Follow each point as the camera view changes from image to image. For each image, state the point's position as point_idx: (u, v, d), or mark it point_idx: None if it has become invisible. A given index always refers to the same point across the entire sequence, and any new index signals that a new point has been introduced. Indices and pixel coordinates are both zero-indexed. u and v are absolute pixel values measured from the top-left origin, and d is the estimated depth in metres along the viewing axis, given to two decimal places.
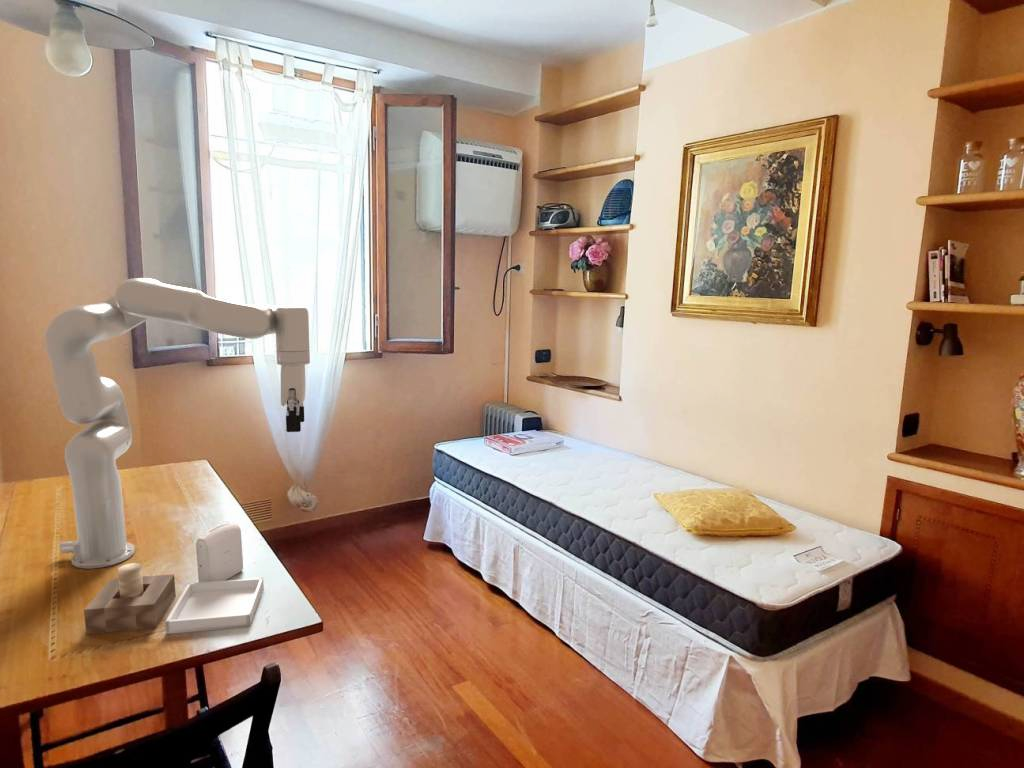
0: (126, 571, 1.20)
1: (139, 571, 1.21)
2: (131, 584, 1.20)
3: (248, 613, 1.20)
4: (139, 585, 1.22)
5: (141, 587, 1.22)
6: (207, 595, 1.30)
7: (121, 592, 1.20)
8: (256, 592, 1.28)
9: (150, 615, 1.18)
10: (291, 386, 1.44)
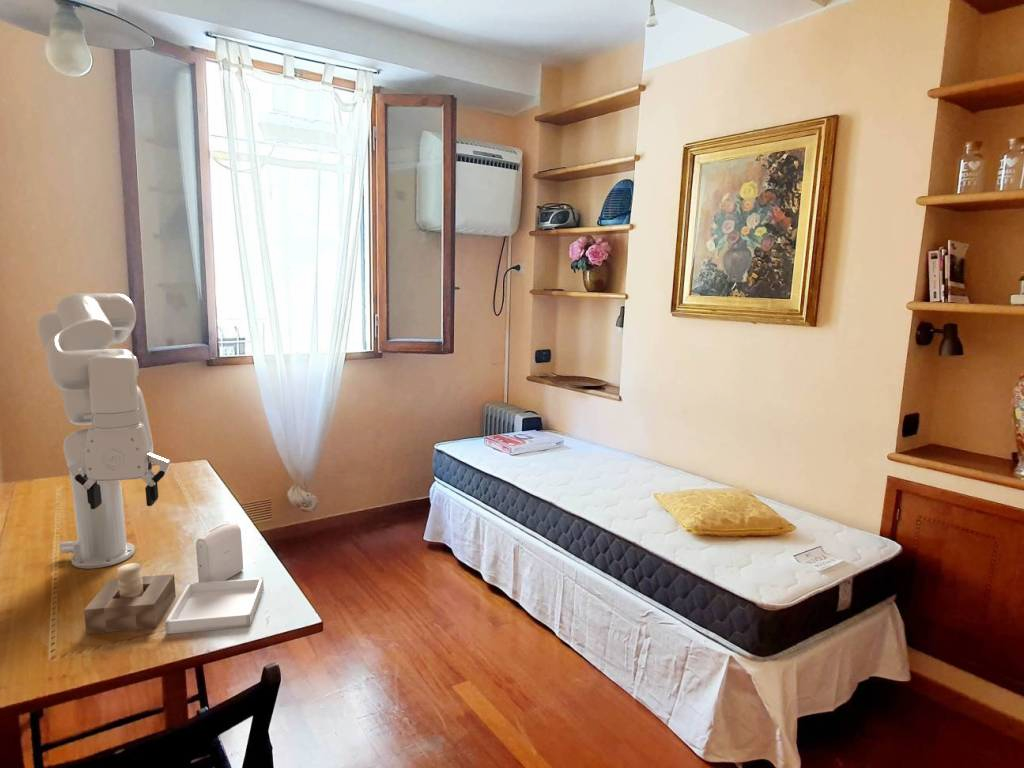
0: (126, 571, 1.20)
1: (139, 571, 1.21)
2: (131, 584, 1.20)
3: (248, 613, 1.20)
4: (139, 585, 1.22)
5: (141, 587, 1.22)
6: (207, 595, 1.30)
7: (121, 592, 1.20)
8: (256, 592, 1.28)
9: (150, 615, 1.18)
10: (148, 449, 1.18)
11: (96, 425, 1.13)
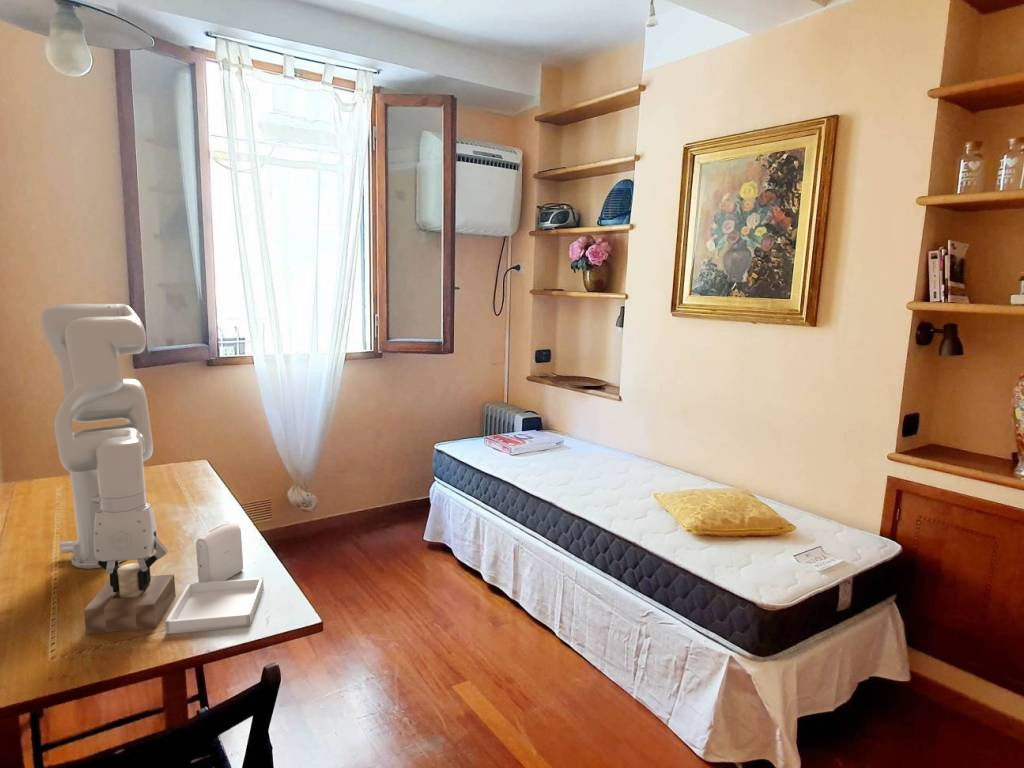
0: (126, 571, 1.20)
1: None
2: (131, 585, 1.20)
3: (248, 613, 1.20)
4: None
5: None
6: (207, 595, 1.30)
7: (121, 592, 1.20)
8: (256, 592, 1.28)
9: (150, 615, 1.18)
10: (154, 529, 1.21)
11: (104, 509, 1.16)
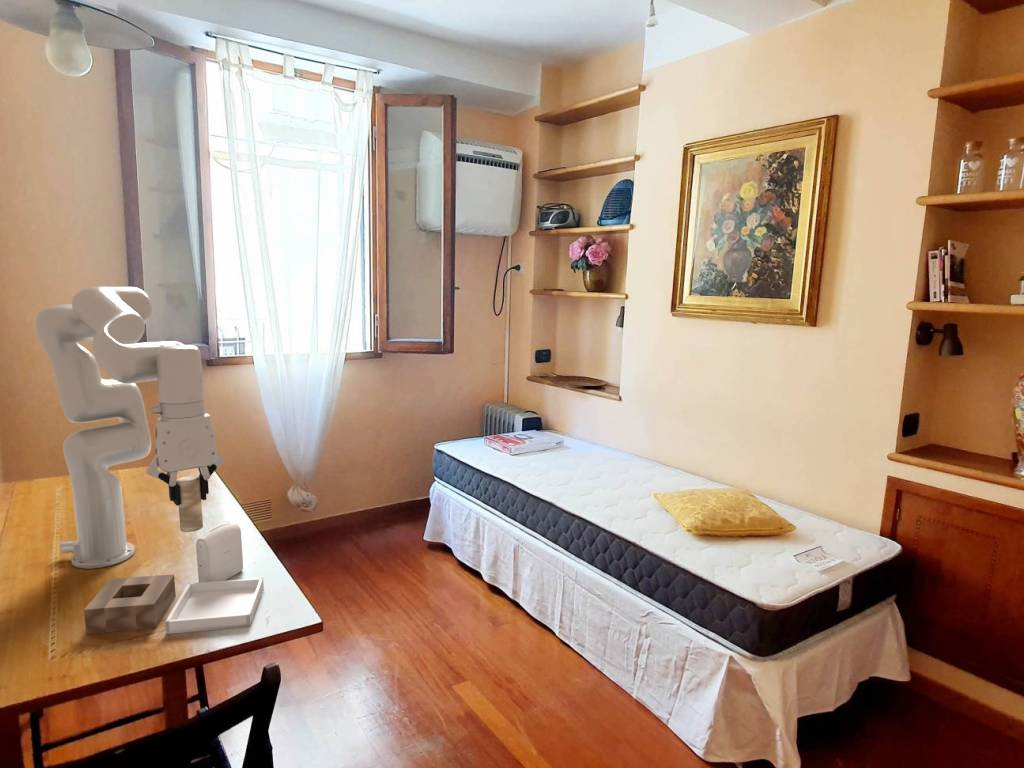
0: (190, 481, 1.19)
1: (199, 482, 1.21)
2: (196, 494, 1.19)
3: (248, 613, 1.20)
4: (200, 496, 1.21)
5: None
6: (207, 595, 1.30)
7: (185, 504, 1.19)
8: (256, 592, 1.28)
9: (150, 615, 1.18)
10: None
11: (173, 416, 1.14)
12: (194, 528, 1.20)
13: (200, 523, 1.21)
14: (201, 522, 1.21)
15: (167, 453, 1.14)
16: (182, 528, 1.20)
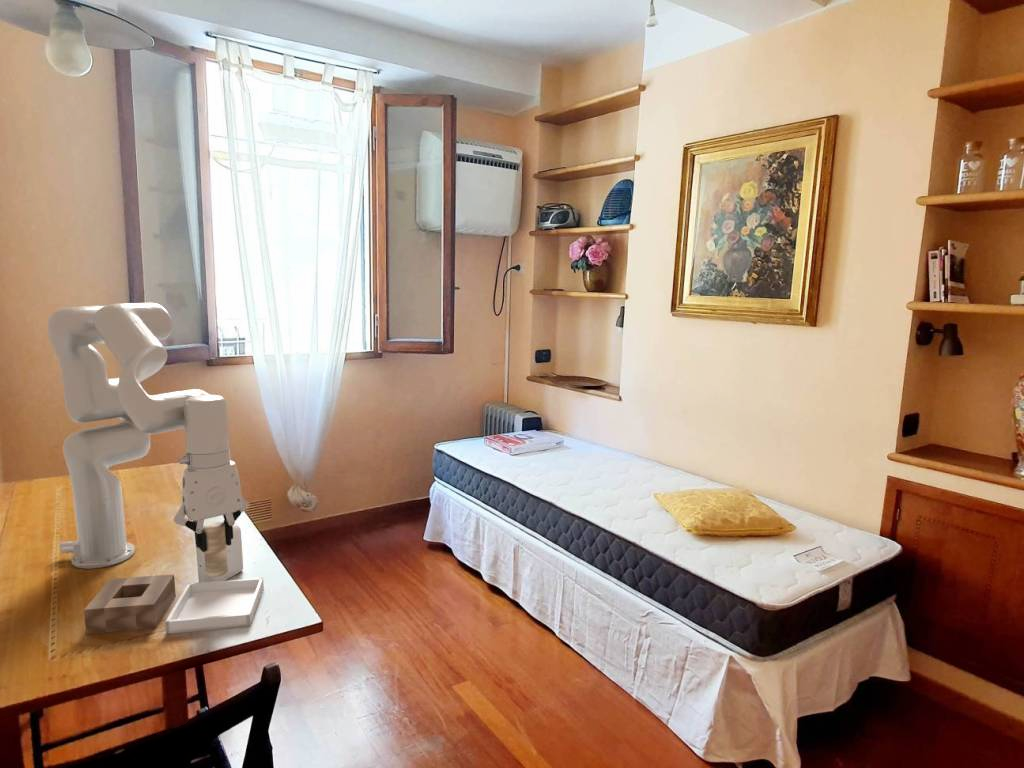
0: (216, 528, 1.21)
1: None
2: (222, 540, 1.22)
3: (248, 613, 1.20)
4: (225, 541, 1.23)
5: None
6: (207, 595, 1.30)
7: (211, 550, 1.21)
8: (256, 592, 1.28)
9: (150, 615, 1.18)
10: None
11: (201, 466, 1.16)
12: (220, 573, 1.22)
13: (226, 568, 1.24)
14: (226, 567, 1.24)
15: (195, 502, 1.17)
16: (208, 573, 1.22)
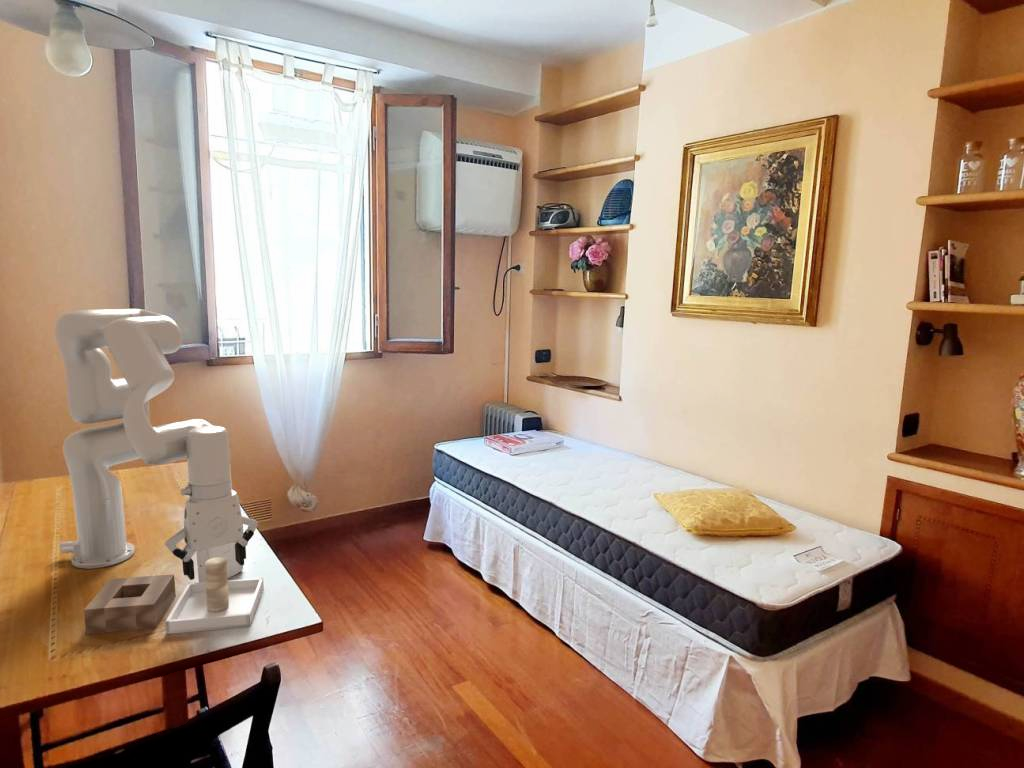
0: (218, 564, 1.23)
1: None
2: (223, 576, 1.23)
3: (248, 613, 1.20)
4: (227, 577, 1.25)
5: (227, 578, 1.25)
6: None
7: (213, 586, 1.22)
8: (256, 592, 1.28)
9: (150, 615, 1.18)
10: None
11: (203, 497, 1.17)
12: (221, 608, 1.24)
13: (227, 603, 1.25)
14: (227, 602, 1.25)
15: (196, 533, 1.18)
16: (209, 608, 1.24)
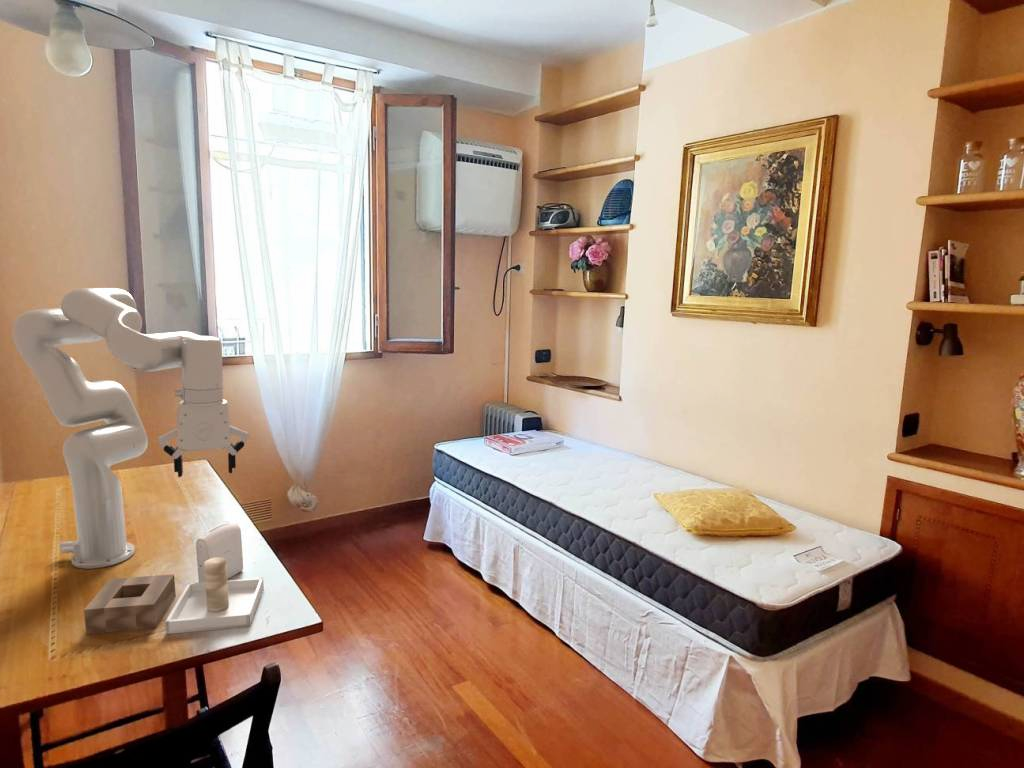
0: (217, 564, 1.23)
1: None
2: (223, 576, 1.23)
3: (248, 613, 1.20)
4: None
5: None
6: None
7: (212, 586, 1.23)
8: (256, 592, 1.28)
9: (150, 615, 1.18)
10: None
11: (190, 400, 1.25)
12: (221, 608, 1.24)
13: (227, 603, 1.25)
14: (227, 602, 1.25)
15: (183, 433, 1.26)
16: (209, 609, 1.24)
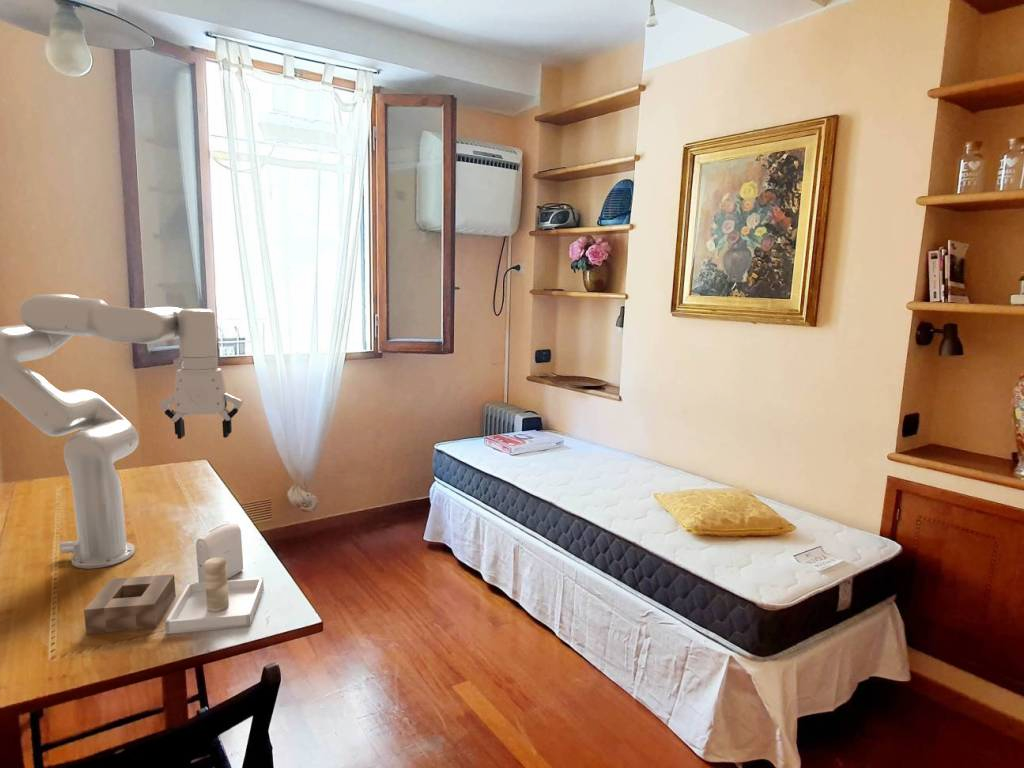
0: (217, 564, 1.23)
1: None
2: (223, 576, 1.23)
3: (248, 613, 1.20)
4: None
5: None
6: None
7: (212, 586, 1.23)
8: (256, 592, 1.28)
9: (150, 615, 1.18)
10: (224, 390, 1.41)
11: (184, 367, 1.36)
12: (221, 608, 1.24)
13: (227, 603, 1.25)
14: (227, 602, 1.25)
15: (179, 398, 1.37)
16: (209, 609, 1.24)
